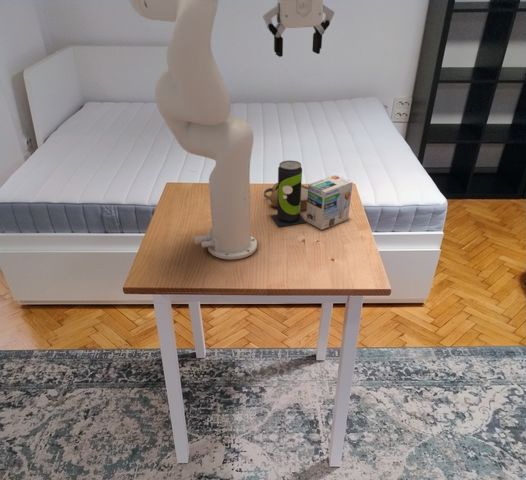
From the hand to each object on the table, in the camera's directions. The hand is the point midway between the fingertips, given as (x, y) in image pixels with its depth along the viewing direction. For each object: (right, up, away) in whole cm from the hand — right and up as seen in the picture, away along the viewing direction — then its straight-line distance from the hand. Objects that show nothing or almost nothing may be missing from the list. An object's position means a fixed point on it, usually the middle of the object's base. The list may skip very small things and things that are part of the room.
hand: (297, 54), depth 122 cm
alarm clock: (-1, -29, +25) cm, 39 cm away
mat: (-1, -36, +17) cm, 40 cm away
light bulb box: (+9, -37, +17) cm, 41 cm away
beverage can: (-1, -36, +17) cm, 40 cm away
